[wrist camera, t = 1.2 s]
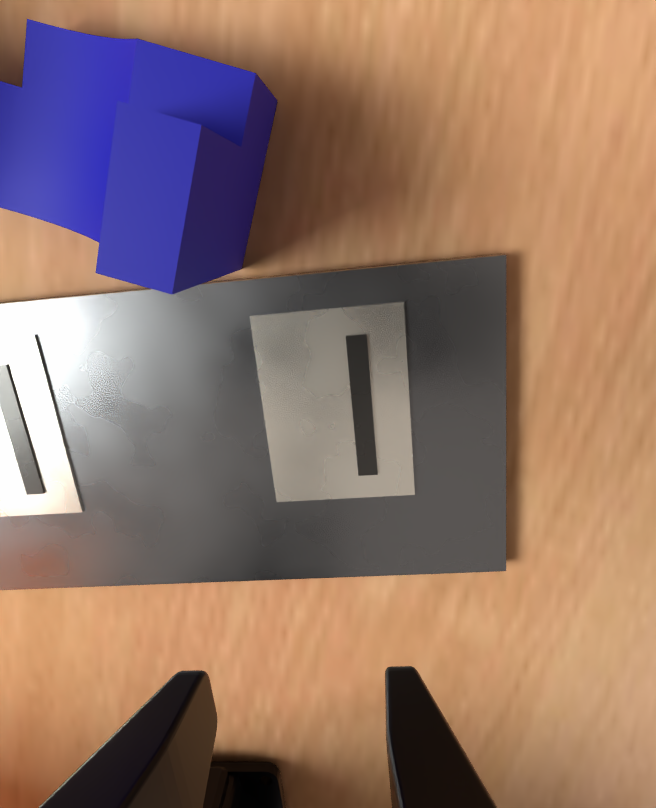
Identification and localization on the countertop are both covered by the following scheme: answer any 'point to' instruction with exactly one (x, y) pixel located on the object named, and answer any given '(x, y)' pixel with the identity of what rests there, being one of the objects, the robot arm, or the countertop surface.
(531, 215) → the countertop surface
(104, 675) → the countertop surface
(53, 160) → the blue cradle bracket
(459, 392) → the plate
